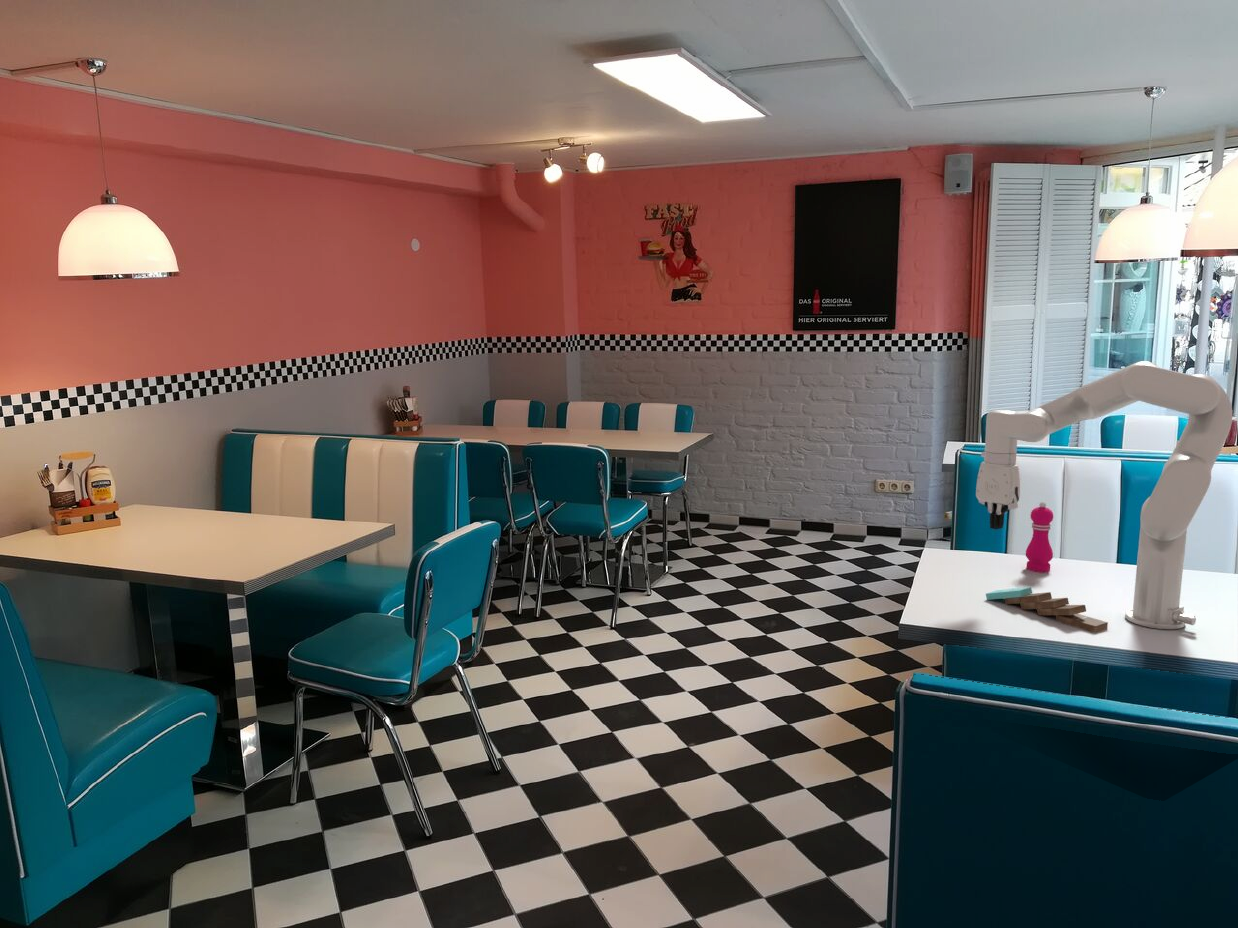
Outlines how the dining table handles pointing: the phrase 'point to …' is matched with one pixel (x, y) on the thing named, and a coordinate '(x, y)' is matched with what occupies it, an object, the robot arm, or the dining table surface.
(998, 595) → the domino
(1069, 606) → the domino
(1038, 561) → the pepper mill
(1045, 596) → the domino
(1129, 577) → the dining table surface
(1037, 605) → the domino
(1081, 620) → the domino
